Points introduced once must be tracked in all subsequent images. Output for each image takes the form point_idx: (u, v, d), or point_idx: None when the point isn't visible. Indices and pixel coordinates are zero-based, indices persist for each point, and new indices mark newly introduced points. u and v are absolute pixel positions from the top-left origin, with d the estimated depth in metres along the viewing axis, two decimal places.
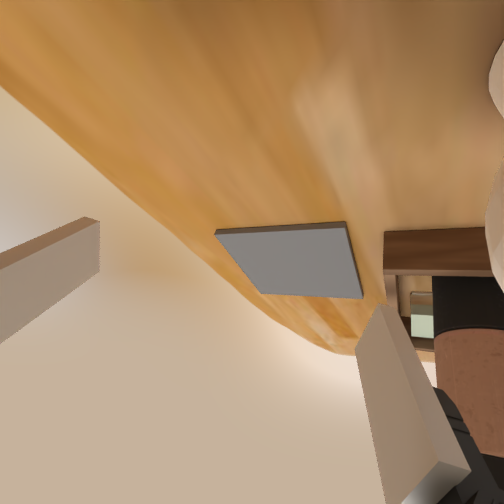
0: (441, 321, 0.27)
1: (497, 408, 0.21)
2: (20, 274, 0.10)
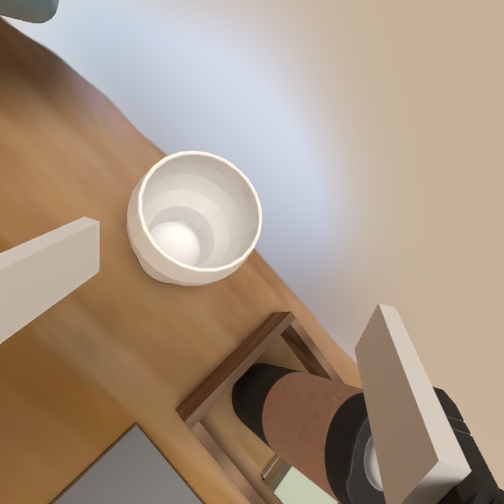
0: (257, 422, 0.28)
1: (307, 403, 0.23)
2: (20, 274, 0.10)
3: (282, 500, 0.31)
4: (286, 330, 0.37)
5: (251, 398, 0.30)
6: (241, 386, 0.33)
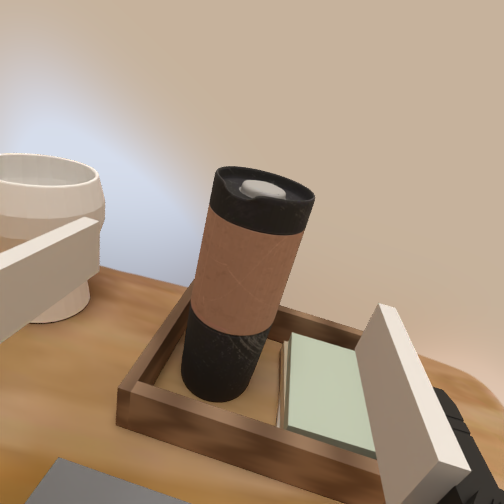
0: (199, 331, 0.24)
1: None
2: (20, 274, 0.10)
3: (304, 428, 0.23)
4: None
5: (187, 332, 0.26)
6: (183, 354, 0.28)
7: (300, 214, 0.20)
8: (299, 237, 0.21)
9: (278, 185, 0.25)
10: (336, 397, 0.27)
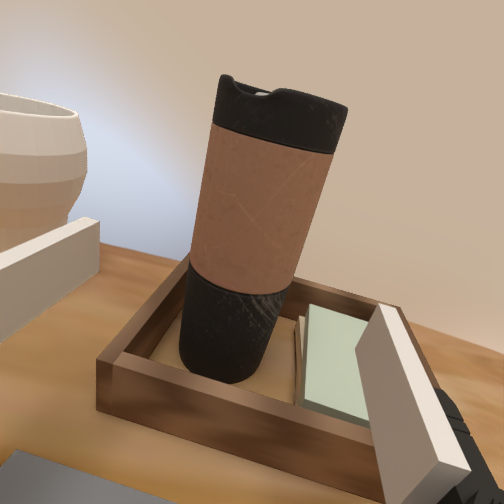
0: (200, 291, 0.19)
1: None
2: (20, 274, 0.10)
3: (325, 404, 0.19)
4: None
5: (186, 297, 0.21)
6: (181, 327, 0.23)
7: (332, 123, 0.15)
8: (328, 161, 0.17)
9: None
10: None
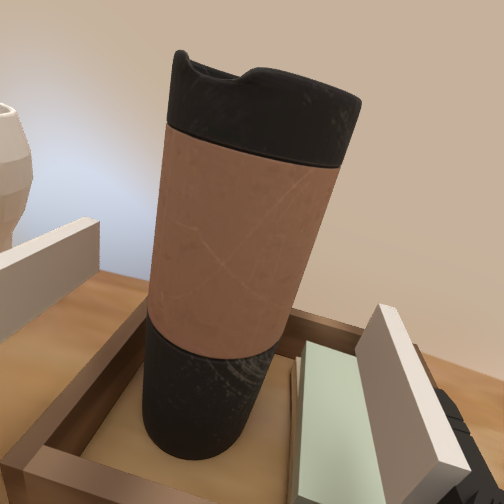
0: (158, 351, 0.14)
1: None
2: (20, 274, 0.10)
3: (326, 502, 0.14)
4: None
5: (145, 352, 0.16)
6: None
7: (340, 124, 0.10)
8: (333, 178, 0.11)
9: None
10: None
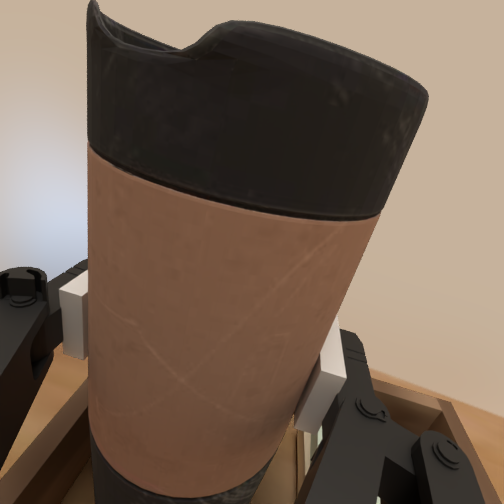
0: (101, 470, 0.10)
1: None
2: None
3: None
4: None
5: None
6: None
7: (396, 142, 0.05)
8: (372, 230, 0.07)
9: None
10: None
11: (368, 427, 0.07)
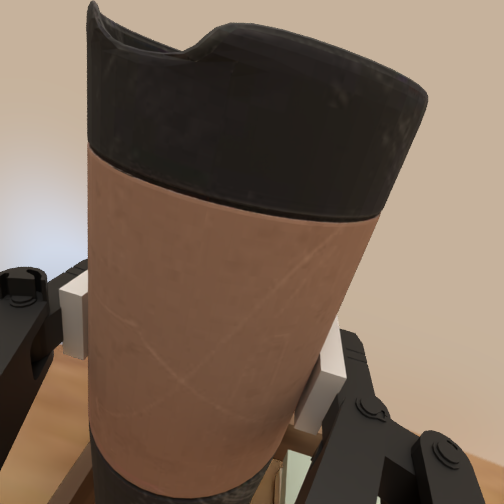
0: (100, 471, 0.10)
1: None
2: None
3: None
4: None
5: None
6: None
7: (396, 143, 0.05)
8: (371, 231, 0.07)
9: None
10: None
11: (368, 427, 0.07)
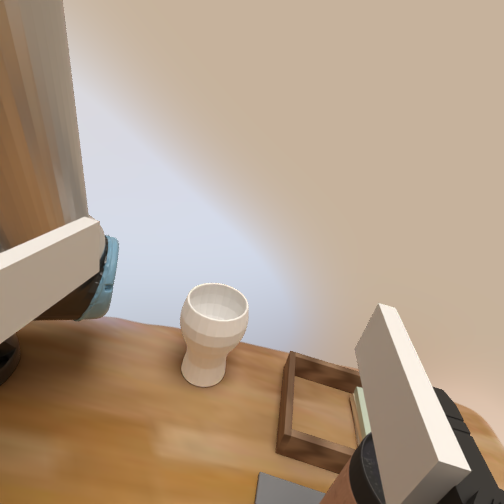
0: None
1: (336, 503, 0.24)
2: (20, 274, 0.10)
3: None
4: (297, 366, 0.54)
5: None
6: None
7: None
8: None
9: None
10: None
11: None
